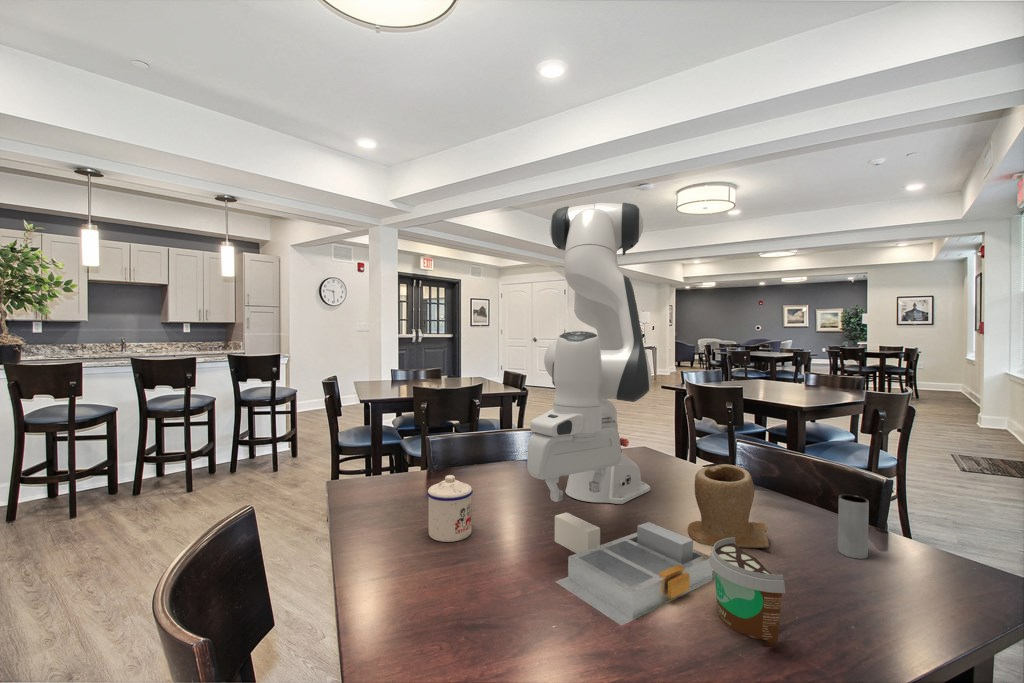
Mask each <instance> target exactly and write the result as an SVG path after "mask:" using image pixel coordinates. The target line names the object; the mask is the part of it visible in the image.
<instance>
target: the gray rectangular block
mask: <svg viewBox="0 0 1024 683" xmlns="http://www.w3.org/2000/svg"><path fill="white" fill-rule="evenodd" d="M636 529H637V530H636V533H637V543H638V544H640V545H642V546H644V547H646V548H649V549H651V550H653V551H655V552H657V553H660V554H662V555H664V556H666V557H668V558H670V559H673V560H675V561H677V562H679V563H681V564H685V563H687V562H689V561H692V560H693V549H694V539H692V538H690V537H687V536H684V535H682V534H679V533H676V532H675V531H672V530H669V529H667V528H664V527H662V526H659V525H658V524H654V523H653V522H650V521H647V522H644V523H642V524H638V525H637V526H636Z"/></svg>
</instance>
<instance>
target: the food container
mask: <svg viewBox="0 0 1024 683" xmlns="http://www.w3.org/2000/svg"><path fill="white" fill-rule="evenodd" d="M709 556H710V559H709V564H710V566H711V568H712V570H713V571H715V579H714V584H715V595H716V596H715V597H716V612H717V613H716V614H717V615H718V618H719V619H720V621H721V622H722V623H723V624H724V625H726V626H727V627H728V628H730V629H732V630H734V631H735V632H737V633H739V634H742V635H743V636H747V637H750V638H753V639H757V640H763V641H766V642H765V643H763V644H762V645H761V646H762V647H763V648H769V647H770V649H771V648H778V642H779V633H780V632H779V630H780V620H781V606H782V597H783V596H782V595H783V594H786V585H785V580H784V575H783V574H773V573H771V572H770V571H769V570H768V569H767V568H766V567H765V566H764V565H763V564H762V563H761V562H760V561H759V559H757V558H756V557H755V556H753V555H751V554H749V553H747V552H746V551H745V550H743V549H742V548H739V547H738V546H737V545H736V543H735V537H734V538H726V539H722V540H720V541H718V542H716V543H715V545H714V546H712V549H711V552H710V555H709Z"/></svg>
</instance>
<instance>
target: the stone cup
mask: <svg viewBox="0 0 1024 683" xmlns="http://www.w3.org/2000/svg"><path fill="white" fill-rule="evenodd" d="M694 497H695V500H696V505H697V507H698V509H699V510H698V511H699V512H700V517H701V518H700V519H701V520H700V521H698V520H697V521H692V522H690V523H688V526H687V534H688V535H689V538H690V539H692V540H693V541H696V543H698V544H701V545H703V546H704V545H705V546H710V547H714V545H715V543H716V542H718V541H720V540H722V539H726V538H734V537H735V543H736V545H737V546H738V547H739V548H740V549H742V548H747V549H749V548H750V549H752V548H753V549H767V548H769V546H770V545H769V539H768V534H767V531H768V526H767V524H766V523H765V522H755V521H753V522H751V521H750V515H751V514H750V513H751V509H752V505H753V502H754V498H755V486H754V482H753V478H752V476H751V473H750V472H749V471H748V470H746V469H745V468H743V467H741V466H738V465H733V464H727V463H725V464H715V465H713V466H710V465H708V466H704V467H701V469H699V470H698V471H697V472H696V474H695V476H694Z"/></svg>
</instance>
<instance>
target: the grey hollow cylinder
mask: <svg viewBox="0 0 1024 683" xmlns="http://www.w3.org/2000/svg"><path fill="white" fill-rule="evenodd" d="M869 504H870V501H869V499H867V498H865V497H863V496H860V495H855V494H850V493H849V494H847V493H844V494H843V493H842V494H840V495H838V510H837V511H838V512H837V513H838V514H837V516H838V517H837V518H838V520H837V521H838V522H837V524H838V525H837V527H838V528H837V551H838V552H839V554H842V555H843V556H845V557H849V558H853V559H861V560H862V559H867V558H868V556H869V555H868V554H869V516H870V514H869V513H870V512H869V510H870V509H869V508H870V507H869Z"/></svg>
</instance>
